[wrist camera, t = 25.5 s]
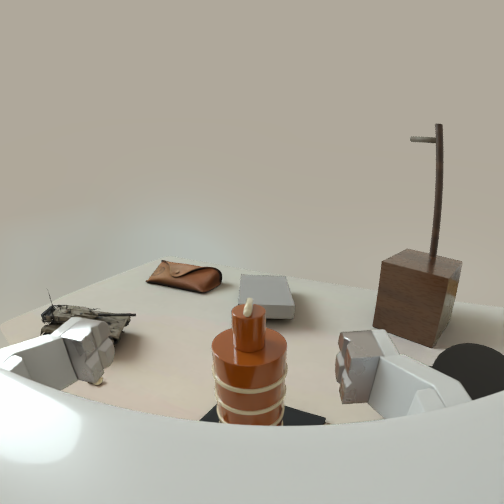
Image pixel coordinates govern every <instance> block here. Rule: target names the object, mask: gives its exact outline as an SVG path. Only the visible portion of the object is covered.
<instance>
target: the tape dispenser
mask: <svg viewBox="0 0 504 504" xmlns="http://www.w3.org/2000/svg"><path fill="white" fill-rule="evenodd" d="M429 367H431V366H429ZM431 368H433V369H435V370H437V371H439V372H441V373H443V374H445V375H447V376H449V377H451V378H453V379H456V380H458V381H459V382H460V383H461V384H462V386H463V387H464V389H465V390H466V392H467V393H468V395H469V396H470V398H471V399H472V400H476V399H479V398H482V397H486V396H489V395H492V394H495V393H498V392H501V391H503V390H504V355H502V354H501V353H500V352H498V351H496V350H494V349H492V348H489V347H487V346H484V345H479V344H472V343H465V344H458V345H454V346H451V347H450V348H448V349H446V350H444V351H443V352H442V353H441V354H440V355H439V356H438V357H437V359H436V360H435V362H434V364H433V366H432V367H431Z"/></svg>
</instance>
